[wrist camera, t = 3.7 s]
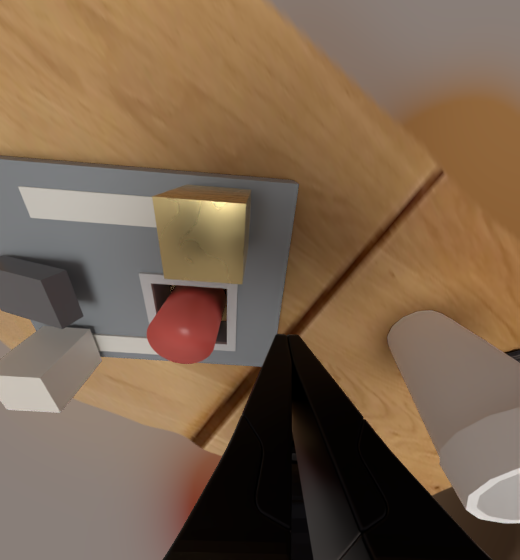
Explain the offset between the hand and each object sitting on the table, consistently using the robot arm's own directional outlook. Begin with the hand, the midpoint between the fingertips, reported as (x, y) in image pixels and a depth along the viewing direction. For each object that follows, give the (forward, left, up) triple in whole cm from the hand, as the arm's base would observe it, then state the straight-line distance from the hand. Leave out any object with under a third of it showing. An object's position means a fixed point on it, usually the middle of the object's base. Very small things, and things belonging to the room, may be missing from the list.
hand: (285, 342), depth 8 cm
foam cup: (-9, -17, -13) cm, 23 cm away
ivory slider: (-10, +17, -9) cm, 22 cm away
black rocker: (-4, +17, -8) cm, 19 cm away
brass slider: (+2, +4, -9) cm, 10 cm away
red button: (-6, +6, -12) cm, 15 cm away
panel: (-4, +10, -12) cm, 16 cm away
